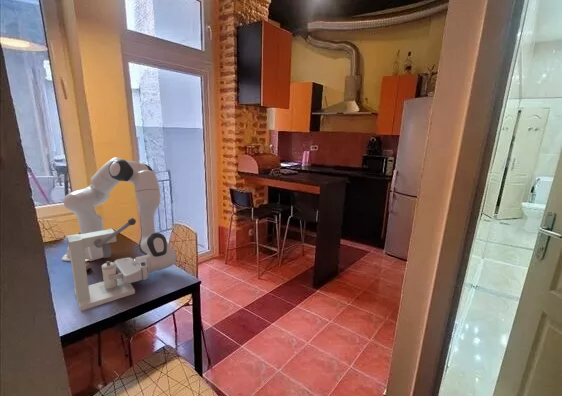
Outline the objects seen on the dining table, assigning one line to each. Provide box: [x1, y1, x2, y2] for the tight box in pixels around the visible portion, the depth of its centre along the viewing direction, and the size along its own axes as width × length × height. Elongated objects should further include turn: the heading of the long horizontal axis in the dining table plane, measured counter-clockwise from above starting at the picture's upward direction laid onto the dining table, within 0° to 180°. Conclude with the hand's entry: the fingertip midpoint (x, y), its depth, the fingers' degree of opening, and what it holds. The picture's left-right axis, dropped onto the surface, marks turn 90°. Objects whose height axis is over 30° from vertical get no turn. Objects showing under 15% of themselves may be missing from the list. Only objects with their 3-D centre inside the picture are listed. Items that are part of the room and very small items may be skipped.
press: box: [66, 217, 137, 312], centre depth 123 cm, size 24×16×34 cm
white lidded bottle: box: [101, 260, 117, 289], centre depth 125 cm, size 5×5×12 cm
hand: (107, 274), depth 124 cm, fingers closed on white lidded bottle, 5 cm apart
